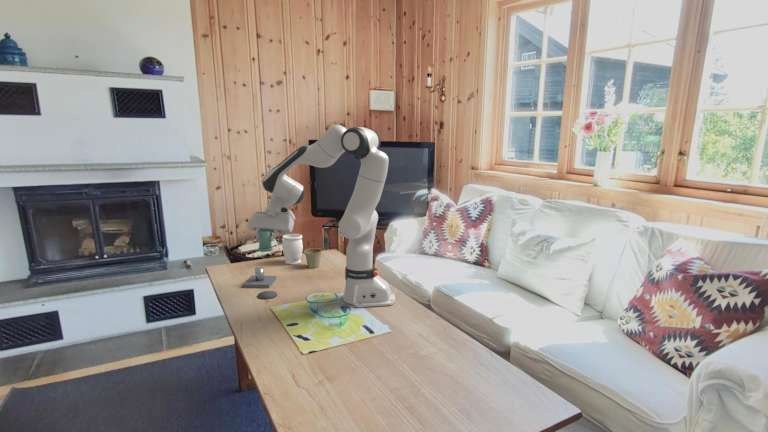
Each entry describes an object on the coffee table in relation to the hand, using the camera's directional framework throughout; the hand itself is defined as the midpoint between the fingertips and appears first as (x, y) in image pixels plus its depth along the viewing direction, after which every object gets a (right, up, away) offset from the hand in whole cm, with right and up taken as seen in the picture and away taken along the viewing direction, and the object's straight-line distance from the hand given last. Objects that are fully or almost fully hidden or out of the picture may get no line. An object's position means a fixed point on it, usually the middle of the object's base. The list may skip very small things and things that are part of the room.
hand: (264, 239), depth 175 cm
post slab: (-8, -21, +20) cm, 30 cm away
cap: (0, -4, +1) cm, 5 cm away
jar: (+1, -15, +52) cm, 54 cm away
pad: (0, -24, +5) cm, 25 cm away
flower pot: (+13, -17, +45) cm, 50 cm away
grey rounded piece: (-8, -20, +20) cm, 29 cm away
